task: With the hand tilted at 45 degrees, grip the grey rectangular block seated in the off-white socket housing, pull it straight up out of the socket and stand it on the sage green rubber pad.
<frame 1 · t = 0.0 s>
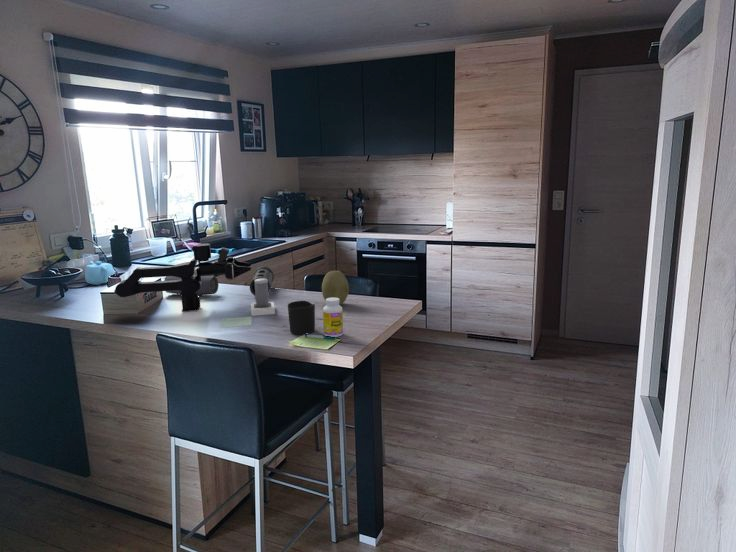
hand: (250, 266, 212), 17 cm above the breakfast bar, tool horizontal, fingers open, 9 cm apart
bluetooth speaker: (192, 296, 233), on the breakfast bar
fruit: (335, 305, 213), on the breakfast bar
teapot: (100, 283, 263), on the breakfast bar
grey rectangular block: (263, 311, 201), point 1 cm above the breakfast bar, touching socket housing
supplement bottle: (333, 335, 175), on the breakfast bar
socket housing: (263, 314, 201), on the breakfast bar
pen holder: (302, 332, 179), on the breakfast bar
muzzle brake: (263, 292, 238), on the breakfast bar
pad: (236, 324, 189), on the breakfast bar
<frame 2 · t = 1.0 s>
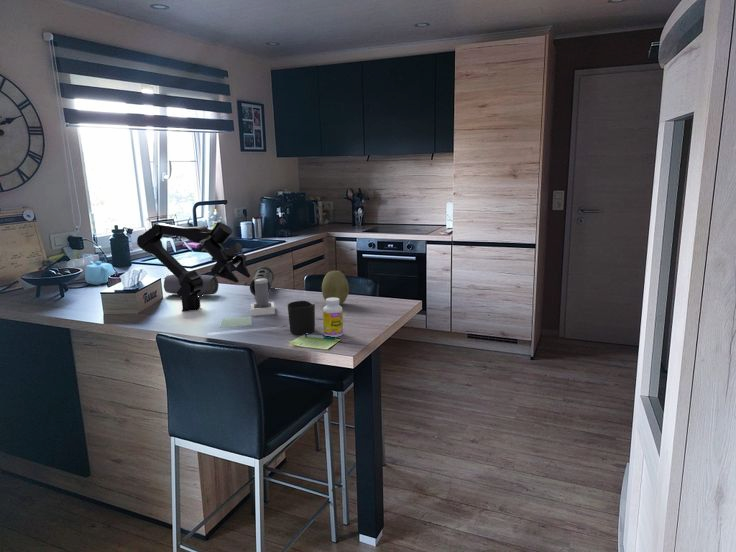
hand: (243, 279, 201), 14 cm above the breakfast bar, tool tilted 45°, fingers open, 9 cm apart
nothing on the breakfast bar moved.
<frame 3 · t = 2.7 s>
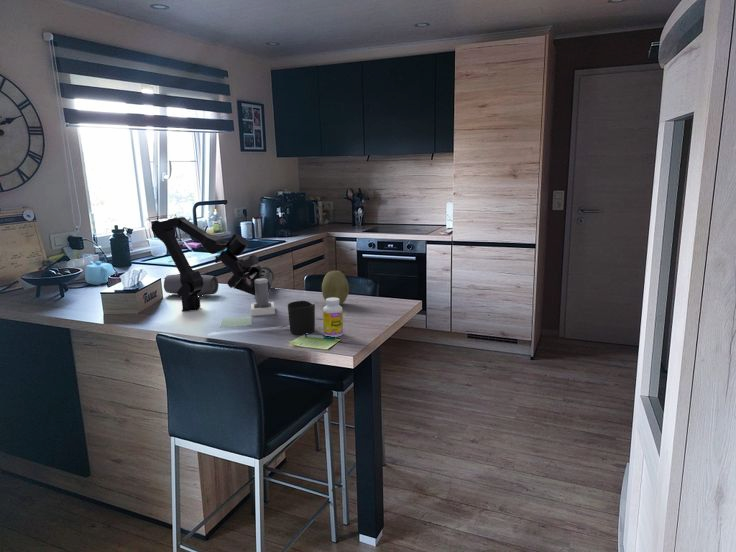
hand: (260, 291, 200), 9 cm above the breakfast bar, tool tilted 45°, fingers open, 9 cm apart
nothing on the breakfast bar moved.
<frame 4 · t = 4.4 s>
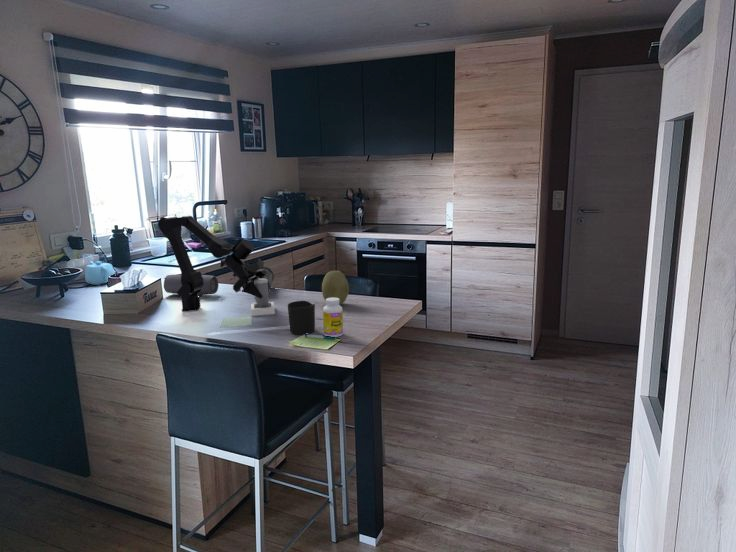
hand: (265, 295, 199), 8 cm above the breakfast bar, tool tilted 45°, fingers closed on grey rectangular block, 5 cm apart
grey rectangular block: (263, 311, 201), point 1 cm above the breakfast bar, touching gripper, socket housing
everything else where it was.
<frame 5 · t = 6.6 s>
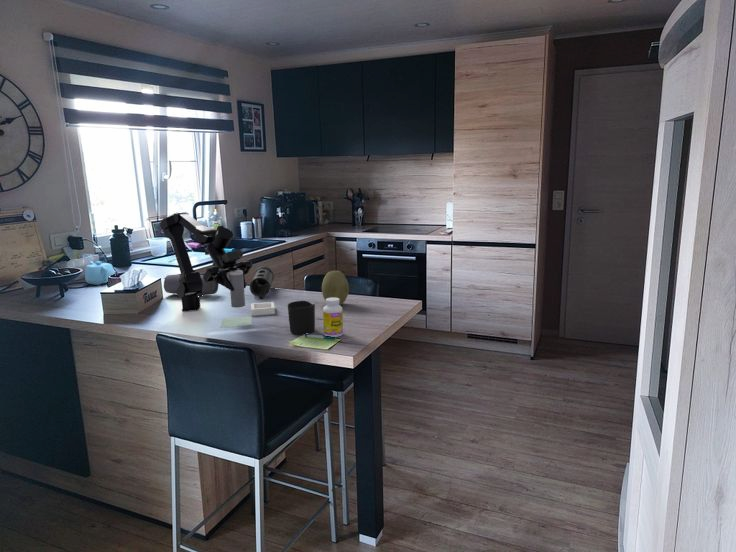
hand: (239, 289, 186), 14 cm above the breakfast bar, tool tilted 45°, fingers closed on grey rectangular block, 5 cm apart
grey rectangular block: (238, 305, 188), point 7 cm above the breakfast bar, touching gripper
everything else where it was.
when the fingers open (9 cm above the breakfast bar, at t = 8.9 s): grey rectangular block drops 1 cm, resting on pad.
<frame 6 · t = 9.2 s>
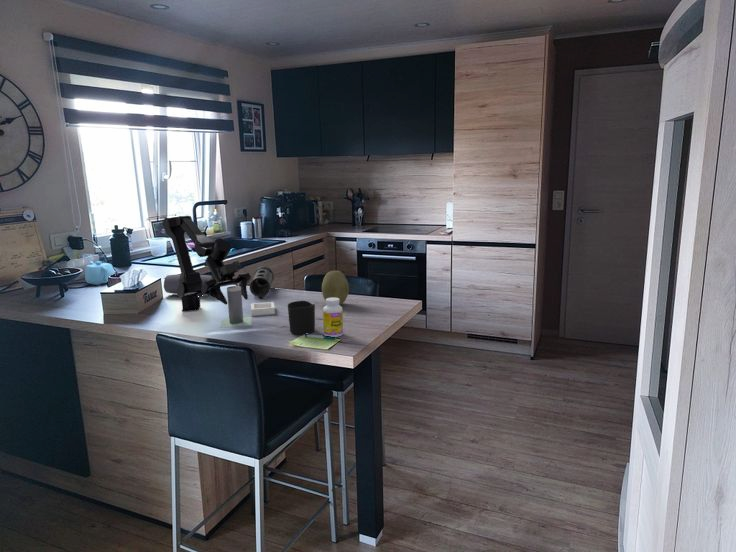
hand: (237, 301, 186), 9 cm above the breakfast bar, tool tilted 45°, fingers open, 8 cm apart
grey rectangular block: (236, 321, 189), point 1 cm above the breakfast bar, touching pad
everything else where it was.
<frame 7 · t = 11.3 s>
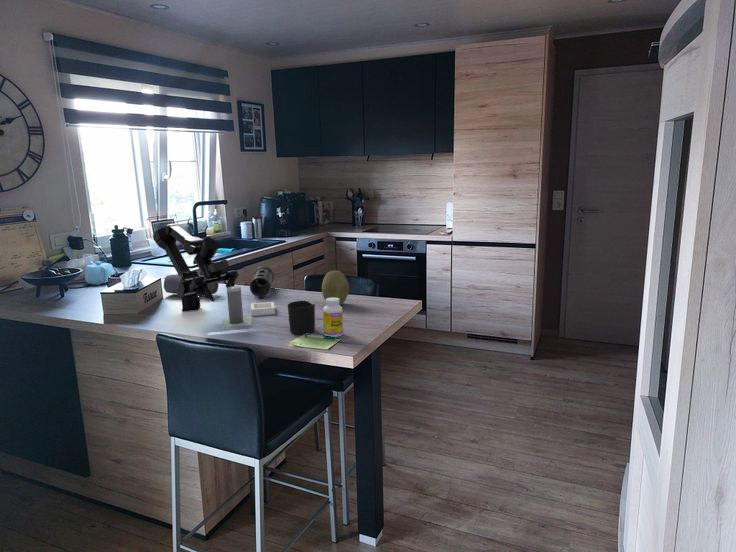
hand: (224, 298, 191), 9 cm above the breakfast bar, tool tilted 45°, fingers open, 9 cm apart
nothing on the breakfast bar moved.
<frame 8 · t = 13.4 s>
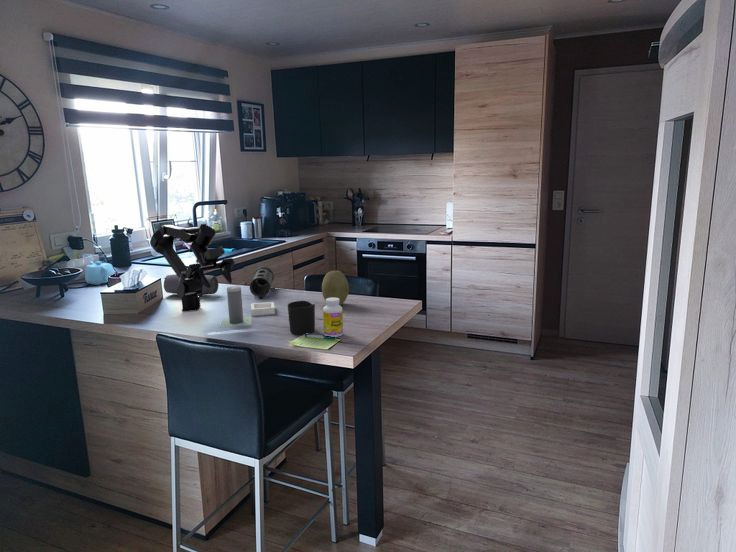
hand: (220, 285, 192), 14 cm above the breakfast bar, tool tilted 45°, fingers open, 9 cm apart
nothing on the breakfast bar moved.
at the end: grey rectangular block 0.0 cm off-centre on the pad, point 1.0 cm above the pad's base; grey rectangular block tilted 1°; the gripper is holding nothing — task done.
